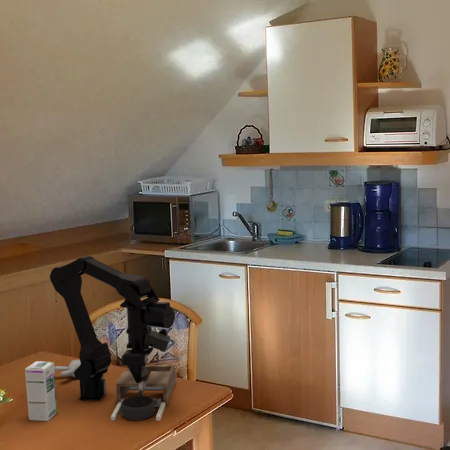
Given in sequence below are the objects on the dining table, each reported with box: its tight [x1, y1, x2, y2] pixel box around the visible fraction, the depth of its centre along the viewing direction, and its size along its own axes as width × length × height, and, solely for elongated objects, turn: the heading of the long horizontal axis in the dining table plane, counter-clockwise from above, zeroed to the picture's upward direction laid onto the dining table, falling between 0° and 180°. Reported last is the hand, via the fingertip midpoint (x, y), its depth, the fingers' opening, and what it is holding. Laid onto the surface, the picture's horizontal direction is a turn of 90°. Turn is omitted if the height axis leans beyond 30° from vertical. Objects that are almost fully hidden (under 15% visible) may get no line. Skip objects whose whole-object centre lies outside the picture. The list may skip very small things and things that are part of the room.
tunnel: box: [115, 364, 176, 407], centre depth 199 cm, size 14×19×6 cm
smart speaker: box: [120, 395, 155, 421], centre depth 184 cm, size 9×9×4 cm
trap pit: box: [128, 381, 163, 391], centre depth 205 cm, size 12×6×1 cm, turn 87°
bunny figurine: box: [54, 359, 81, 378], centre depth 214 cm, size 10×5×15 cm
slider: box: [121, 365, 162, 408], centre depth 189 cm, size 11×3×11 cm, turn 87°
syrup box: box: [24, 360, 59, 422], centre depth 183 cm, size 6×6×14 cm
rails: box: [110, 401, 166, 422], centre depth 185 cm, size 13×10×1 cm
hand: (140, 379), depth 188 cm, fingers open, 5 cm apart
